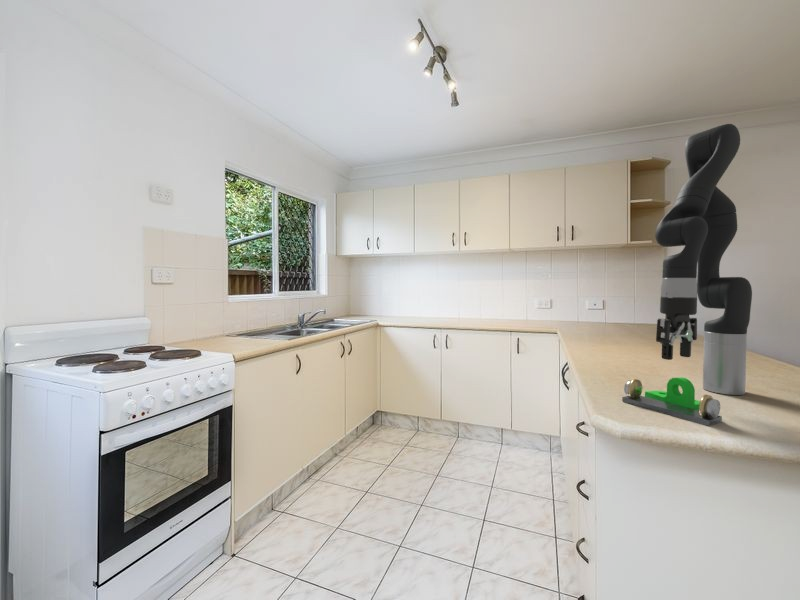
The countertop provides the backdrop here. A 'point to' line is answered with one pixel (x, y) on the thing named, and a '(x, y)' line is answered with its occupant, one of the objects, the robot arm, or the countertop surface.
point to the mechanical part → (677, 393)
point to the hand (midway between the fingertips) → (676, 358)
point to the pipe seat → (704, 415)
